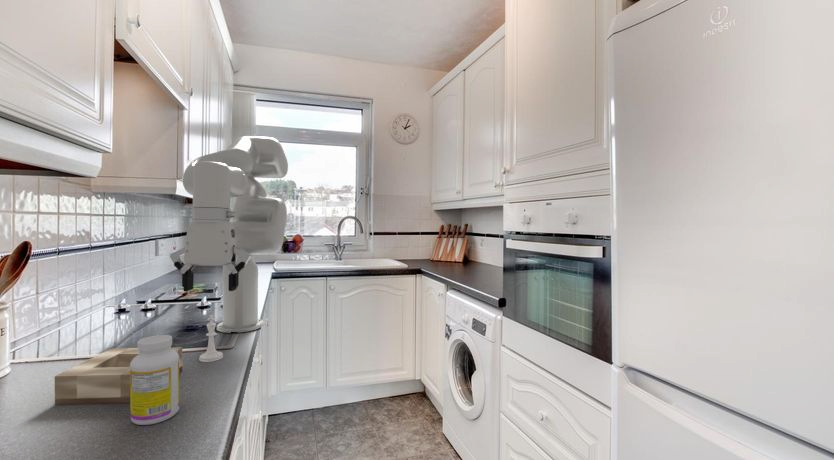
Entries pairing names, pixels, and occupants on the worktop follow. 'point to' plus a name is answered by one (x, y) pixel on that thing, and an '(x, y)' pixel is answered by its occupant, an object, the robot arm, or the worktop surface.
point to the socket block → (100, 378)
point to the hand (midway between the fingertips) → (210, 290)
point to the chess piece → (211, 344)
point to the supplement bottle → (154, 381)
